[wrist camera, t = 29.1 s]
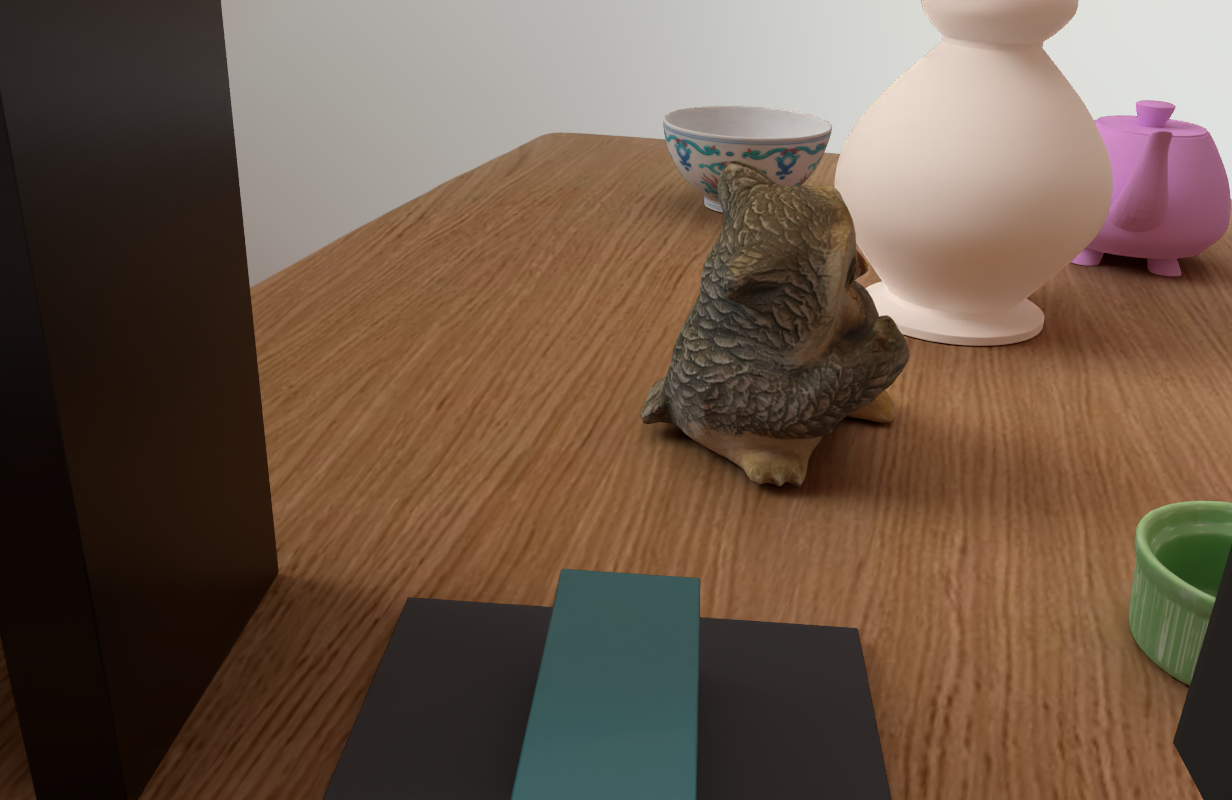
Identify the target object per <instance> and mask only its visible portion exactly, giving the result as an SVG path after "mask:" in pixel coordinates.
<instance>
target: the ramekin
mask: <svg viewBox="0 0 1232 800" xmlns="http://www.w3.org/2000/svg"><path fill="white" fill-rule="evenodd" d="M1231 545H1232V503H1228V502H1218V501H1188V502H1180V503H1174V504H1169V505H1165V506H1162V507H1160V508H1157V509H1154V510H1152V511H1151V512H1149V513H1148V514H1146V515H1145V516H1144V517H1143V518H1142V519H1141V521H1140V522H1139V524H1138V526H1137V528H1136V532H1135V552H1136V564H1135V571H1134V578H1133V584H1132V591H1131V599H1130V608H1129V624H1130V630H1131V633H1132V635H1133V637H1134V639H1135V641H1136V642H1137V644H1138V645H1139V647H1140V648H1141V649H1142V651H1143V652H1144V653H1145V654H1146V655H1147V656H1148V657H1149V658H1150V659H1151V660H1152V661H1153V662H1154V663H1155V664H1157V665H1158V666H1159V667H1160V668H1161V669H1163V670H1164V671H1165V672H1167V673H1168V674H1170V675H1171V676H1173V677H1174V678H1176V679H1178V680H1179V681H1181V682H1183V683H1184V684H1186V685H1188V686H1190V684H1191V680H1192V677H1193V673H1194V670H1195V667H1196V663H1197V660H1198V657H1199V653H1200V650H1201V646H1202V643H1203V640H1204V636H1205V633H1206V630H1207V626H1208V623H1209V619H1210V616H1211V613H1212V609H1213V606H1214V603H1215V599H1216V596H1217V592H1218V589H1219V586H1220V582H1221V579H1222V575H1223V572H1224V569H1225V565H1226V562H1227V559H1228V555H1229V552H1230V548H1231Z"/></svg>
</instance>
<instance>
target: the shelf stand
mask: <svg viewBox="0 0 1232 800" xmlns="http://www.w3.org/2000/svg"><path fill="white" fill-rule="evenodd" d="M277 574H278V562H277V552H276V542H275V532H274V523H273V513H272V503H271V493H270V483H269V473H268V463H267V453H266V444H265V434H264V424H263V414H262V404H261V394H260V384H259V374H258V365H257V355H256V345H255V335H254V325H253V315H252V305H251V295H250V286H249V276H248V267H247V256H246V247H245V236H244V227H243V217H242V207H241V198H240V187H239V177H238V167H237V158H236V148H235V138H234V128H233V118H232V108H231V98H230V88H229V78H228V68H227V58H226V49H225V40H224V29H223V19H222V10H221V0H0V637H1V642H2V646H3V651H4V655H5V660H6V664H7V669H8V673H9V678H10V682H11V687H12V691H13V696H14V700H15V705H16V709H17V714H18V719H19V723H20V728H21V732H22V737H23V741H24V746H25V750H26V755H27V759H28V764H29V768H30V773H31V777H32V782H33V786H34V791H35V795H36V800H137V799H138V797H139V795H140V794H141V792H142V790H143V789H144V787H145V786H146V784H147V782H148V781H149V779H150V778H151V776H152V774H153V773H154V771H155V770H156V768H157V766H158V765H159V763H160V762H161V760H162V758H163V757H164V755H165V754H166V752H167V750H168V749H169V747H170V746H171V744H172V742H173V741H174V739H175V738H176V736H177V734H178V733H179V731H180V730H181V728H182V726H183V725H184V723H185V721H186V720H187V718H188V717H189V715H190V713H191V712H192V710H193V709H194V707H195V705H196V704H197V702H198V701H199V699H200V697H201V696H202V694H203V693H204V691H205V689H206V688H207V686H208V685H209V683H210V681H211V680H212V678H213V677H214V675H215V673H216V672H217V670H218V669H219V667H220V665H221V664H222V662H223V661H224V659H225V657H226V656H227V654H228V652H229V651H230V649H231V648H232V646H233V644H234V643H235V641H236V640H237V638H238V636H239V635H240V633H241V632H242V630H243V628H244V627H245V625H246V624H247V622H248V620H249V619H250V617H251V616H252V614H253V612H254V611H255V609H256V608H257V606H258V604H259V603H260V601H261V600H262V598H263V596H264V595H265V593H266V592H267V590H268V588H269V587H270V585H271V583H272V582H273V580H274V579H275V577H276V575H277Z"/></svg>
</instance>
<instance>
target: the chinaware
mask: <svg viewBox="0 0 1232 800" xmlns="http://www.w3.org/2000/svg"><path fill="white" fill-rule="evenodd" d="M663 126H664V133H665V138H666V142H667V146H668V149H669V152H670V155H671V157H672V159H673V162H674V164H675V165H676V167H677V169H678V170H679V172H680V173H681V175H682V176H683V177H684V178H685V180H686V181H687V182H688V183H689V184H690V185H691V186H692V187H693V188H695V189H696V190H697V191H698V192H700V193H701V194H702V195H704V204H705V206H706V207H708V208H709V209H712V210H714V211H718V212H722V213H723V210H722V207H721V204H720V201H719V198H718V188H717V185H718V180H719V177H720V174H721V172H722V170H723V167H724V165H725V164H726V163H728V162H730V161H736V160H737V161H743V162H745V163H748V164H750V165H752V166H755V167H757V168H758V169H759V170H760V171H762V172H763V173H764V174H765V175H766V176H767V177H769V178H770V179H771V180H772V181H774V182H775V183H776V184H778V185H782V186H785V187H789V186H801V185H802V184H803V183H804V182H805V181H806V180H807V179H808V177H809V176H810V175H811V174H812V173H813V171H814V170H815V168H816V167H817V165H818V163H819V162H820V160H821V158H822V156H823V154H824V151H825V149H826V146H827V144H828V141H829V138H830V134H831V130H832V126H831V124H830V123H829V122H827V121H826V120H823V119H821V118H818V117H815V116H812V115H808V114H804V113H798V112H793V111H787V110H780V109H771V108H761V107H745V106H743V107H742V106H709V107H694V108H686V109H681V110H676V111H673V112H670V113H668V114H666V115H665V116H664V117H663Z"/></svg>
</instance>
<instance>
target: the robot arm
mask: <svg viewBox="0 0 1232 800" xmlns="http://www.w3.org/2000/svg"><path fill="white" fill-rule="evenodd" d="M1173 743H1174V745H1175V747H1176V749H1177V751H1178V752H1179V754H1180V756H1181V758H1182V760H1183V762H1184V764H1185V766H1186V767H1187V769H1188V771H1189V773H1190V775H1191V777H1192V779H1193V781H1194V783H1195V784H1196V786H1197V788H1198V790H1199V792H1200V794H1201V796H1202V798H1203V799H1204V800H1232V545H1231V548H1230V552H1229V555H1228V559H1227V562H1226V565H1225V569H1224V572H1223V575H1222V579H1221V582H1220V586H1219V589H1218V592H1217V596H1216V599H1215V603H1214V606H1213V609H1212V613H1211V616H1210V619H1209V623H1208V626H1207V630H1206V633H1205V636H1204V640H1203V643H1202V646H1201V650H1200V653H1199V657H1198V660H1197V663H1196V667H1195V670H1194V673H1193V677H1192V680H1191V684H1190V687H1189V690H1188V694H1187V697H1186V701H1185V704H1184V707H1183V711H1182V714H1181V717H1180V721H1179V724H1178V728H1177V731H1176V734H1175V738H1174V741H1173Z"/></svg>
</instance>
